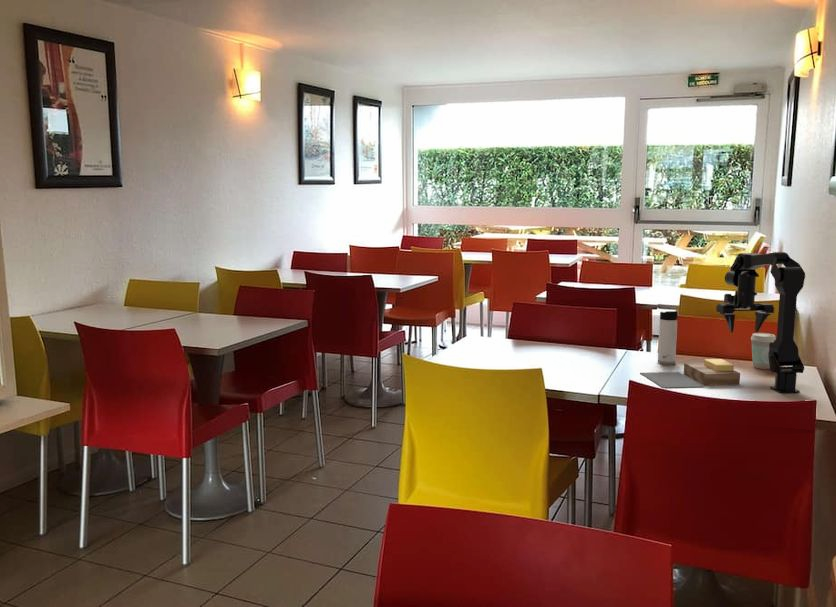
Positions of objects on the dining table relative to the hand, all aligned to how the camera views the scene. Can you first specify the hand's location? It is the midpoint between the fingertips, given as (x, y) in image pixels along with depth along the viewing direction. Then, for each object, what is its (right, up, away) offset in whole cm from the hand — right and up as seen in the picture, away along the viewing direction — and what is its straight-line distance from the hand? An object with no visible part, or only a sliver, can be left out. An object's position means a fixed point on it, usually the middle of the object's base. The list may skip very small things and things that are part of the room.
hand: (743, 332), depth 264 cm
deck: (-16, -16, -10) cm, 24 cm away
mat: (-30, -16, -11) cm, 35 cm away
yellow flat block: (-13, -12, -10) cm, 20 cm away
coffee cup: (+10, -13, +8) cm, 18 cm away
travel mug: (-23, -12, +14) cm, 29 cm away
